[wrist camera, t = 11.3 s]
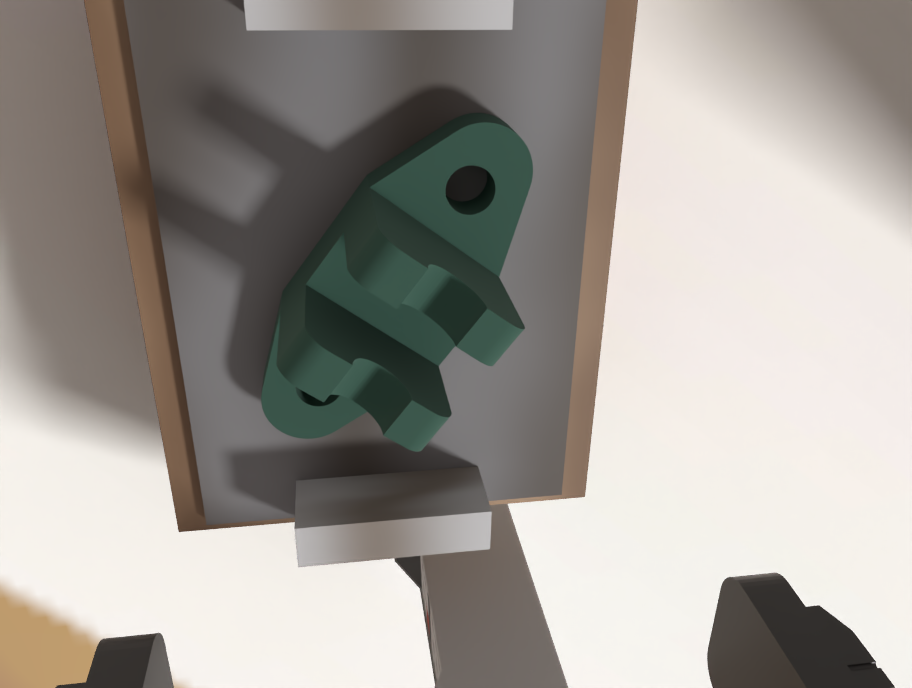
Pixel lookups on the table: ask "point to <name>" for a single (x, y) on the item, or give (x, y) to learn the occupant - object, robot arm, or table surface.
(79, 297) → the table surface
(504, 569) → the vintage mobile phone
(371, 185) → the mount
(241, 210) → the tray
